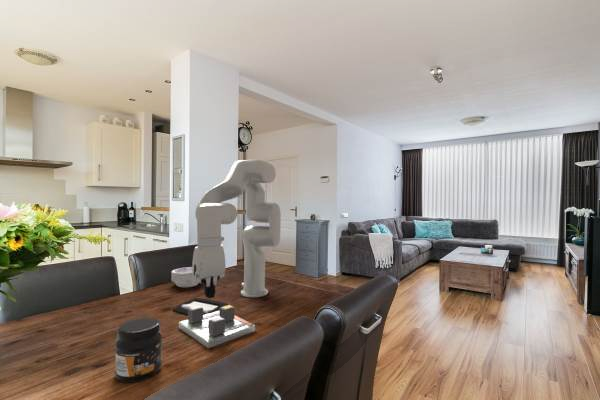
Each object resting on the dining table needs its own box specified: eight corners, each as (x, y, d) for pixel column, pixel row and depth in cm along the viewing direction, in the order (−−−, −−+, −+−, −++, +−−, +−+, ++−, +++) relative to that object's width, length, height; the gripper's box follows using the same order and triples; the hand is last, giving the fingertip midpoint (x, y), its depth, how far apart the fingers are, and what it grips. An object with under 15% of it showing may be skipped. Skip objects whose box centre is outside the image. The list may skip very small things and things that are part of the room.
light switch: (168, 307, 119) (195, 294, 131) (168, 314, 119) (195, 300, 132) (207, 316, 110) (231, 301, 123) (207, 324, 110) (232, 308, 123)
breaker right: (208, 333, 94) (208, 319, 94) (219, 329, 97) (219, 315, 97) (213, 336, 92) (213, 322, 92) (224, 332, 95) (225, 318, 95)
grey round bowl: (181, 280, 164) (181, 265, 164) (208, 281, 162) (208, 266, 162) (164, 288, 149) (165, 272, 149) (194, 290, 147) (194, 273, 147)
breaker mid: (219, 319, 105) (219, 307, 105) (229, 316, 108) (229, 304, 108) (224, 322, 103) (224, 309, 103) (234, 319, 106) (234, 306, 106)
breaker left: (187, 320, 104) (188, 307, 104) (198, 317, 107) (198, 305, 107) (191, 322, 102) (192, 310, 102) (203, 319, 105) (203, 307, 105)
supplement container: (111, 388, 70) (111, 336, 70) (117, 365, 80) (118, 320, 80) (161, 378, 74) (161, 329, 74) (162, 357, 84) (162, 314, 84)
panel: (178, 327, 104) (178, 321, 104) (222, 314, 116) (223, 309, 116) (208, 348, 89) (208, 340, 89) (254, 331, 102) (255, 324, 102)
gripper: (223, 238, 109) (223, 289, 109) (182, 243, 98) (183, 299, 99) (235, 240, 103) (235, 294, 104) (193, 246, 93) (193, 306, 93)
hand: (209, 296), depth 101 cm, fingers closed
